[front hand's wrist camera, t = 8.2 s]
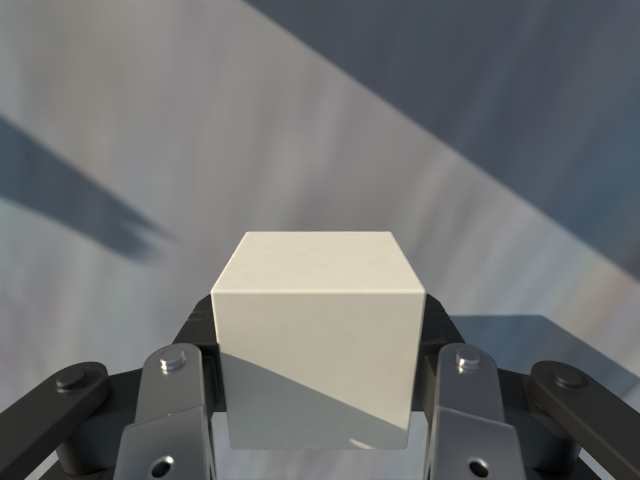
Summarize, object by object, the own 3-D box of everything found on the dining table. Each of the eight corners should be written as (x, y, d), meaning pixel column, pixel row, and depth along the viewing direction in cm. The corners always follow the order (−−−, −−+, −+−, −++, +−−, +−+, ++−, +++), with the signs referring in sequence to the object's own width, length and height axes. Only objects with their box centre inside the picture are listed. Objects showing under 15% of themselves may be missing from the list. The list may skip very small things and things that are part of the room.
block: (256, 352, 13) (230, 450, 10) (246, 230, 12) (208, 290, 8) (382, 352, 13) (407, 451, 10) (391, 230, 12) (428, 290, 8)
